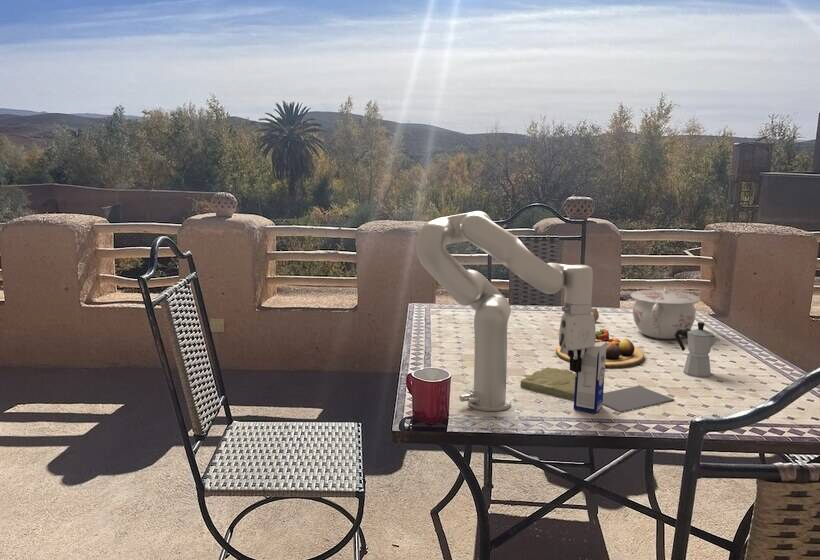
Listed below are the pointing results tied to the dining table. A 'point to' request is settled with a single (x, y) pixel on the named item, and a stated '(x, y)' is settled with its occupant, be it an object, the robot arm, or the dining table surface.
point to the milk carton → (591, 379)
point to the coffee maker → (697, 350)
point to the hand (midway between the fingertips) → (575, 371)
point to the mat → (632, 398)
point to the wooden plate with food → (614, 351)
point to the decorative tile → (552, 382)
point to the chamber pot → (663, 312)
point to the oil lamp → (595, 313)
